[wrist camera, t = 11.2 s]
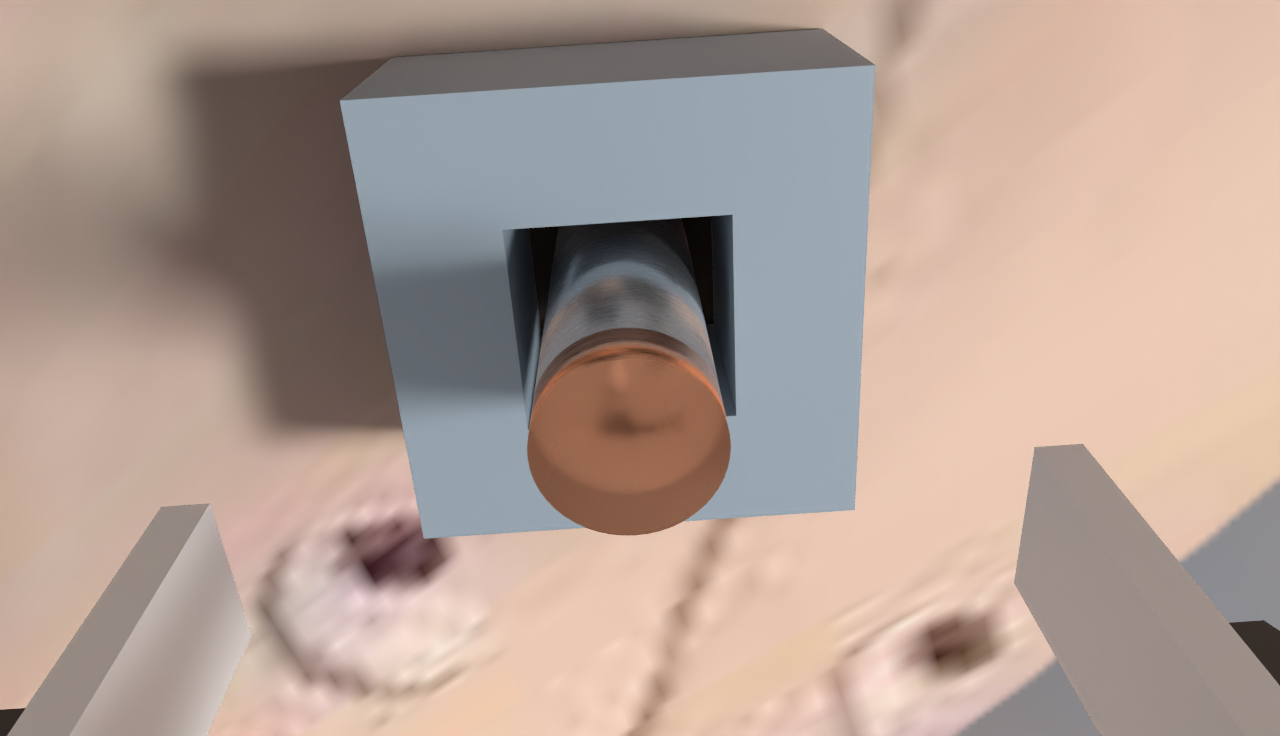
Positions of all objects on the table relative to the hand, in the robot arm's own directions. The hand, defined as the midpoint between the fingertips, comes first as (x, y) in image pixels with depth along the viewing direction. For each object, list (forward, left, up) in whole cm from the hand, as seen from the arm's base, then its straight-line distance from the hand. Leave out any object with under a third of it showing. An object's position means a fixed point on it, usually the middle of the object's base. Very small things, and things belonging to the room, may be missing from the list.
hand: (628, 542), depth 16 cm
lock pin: (0, 0, -16) cm, 16 cm away
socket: (0, 0, -16) cm, 16 cm away
